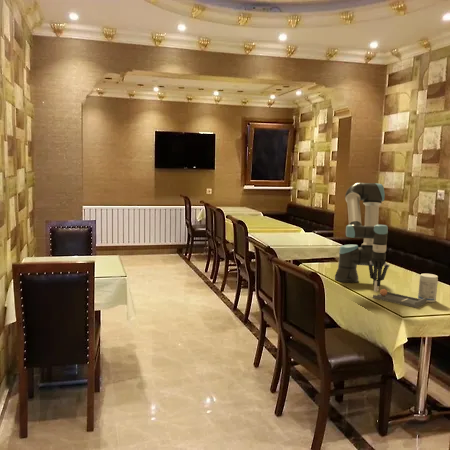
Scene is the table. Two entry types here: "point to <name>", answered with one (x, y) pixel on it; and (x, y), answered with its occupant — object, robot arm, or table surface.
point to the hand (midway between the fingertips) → (376, 291)
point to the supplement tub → (428, 287)
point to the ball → (383, 292)
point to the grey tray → (401, 299)
